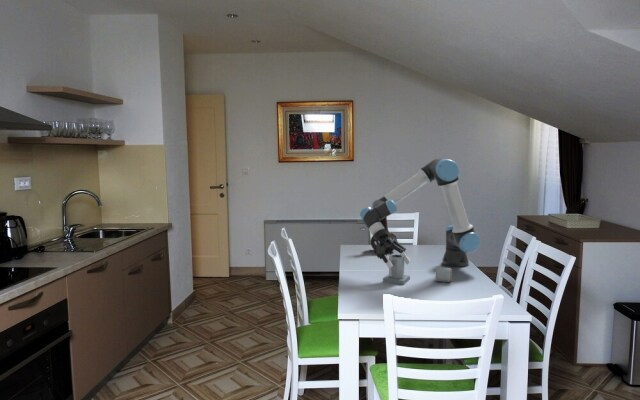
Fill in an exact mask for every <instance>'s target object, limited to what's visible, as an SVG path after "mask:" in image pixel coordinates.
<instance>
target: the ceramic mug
mask: <svg viewBox="0 0 640 400" xmlns="http://www.w3.org/2000/svg"><path fill="white" fill-rule="evenodd" d="M452 276H453V269H452V268H451V267H445V266H440V265H439V266H438V265H437V266H436V267H435V277H434V278H435V279H434V280H435V282H440V283H441V282H442V283H451V282H452V280H453V279H452V278H453V277H452Z"/></svg>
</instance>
